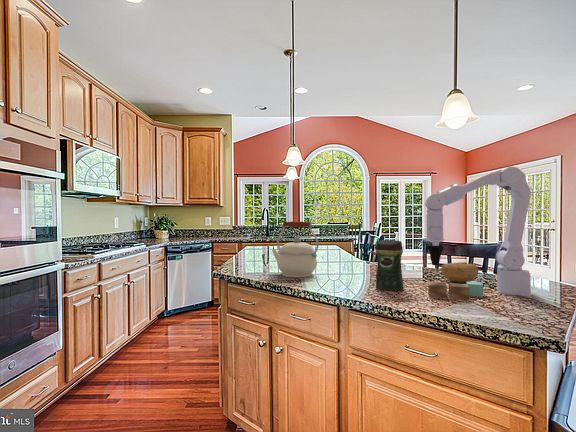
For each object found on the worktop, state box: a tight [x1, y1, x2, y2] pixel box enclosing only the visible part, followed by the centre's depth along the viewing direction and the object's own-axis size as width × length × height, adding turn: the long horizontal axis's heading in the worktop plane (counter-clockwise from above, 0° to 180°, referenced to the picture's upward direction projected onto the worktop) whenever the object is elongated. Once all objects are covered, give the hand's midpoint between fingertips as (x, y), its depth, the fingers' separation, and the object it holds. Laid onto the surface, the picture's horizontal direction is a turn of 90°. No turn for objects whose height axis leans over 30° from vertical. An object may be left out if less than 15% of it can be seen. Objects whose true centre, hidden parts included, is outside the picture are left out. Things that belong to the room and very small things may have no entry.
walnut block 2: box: [448, 282, 470, 301], centre depth 114 cm, size 6×6×4 cm
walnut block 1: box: [427, 281, 448, 299], centre depth 116 cm, size 6×6×4 cm
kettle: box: [271, 220, 320, 279], centre depth 161 cm, size 25×18×25 cm
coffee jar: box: [375, 239, 404, 292], centre depth 128 cm, size 10×8×19 cm
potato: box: [440, 262, 479, 284], centre depth 143 cm, size 10×14×8 cm
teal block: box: [465, 281, 484, 298], centre depth 118 cm, size 4×4×4 cm
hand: (435, 263), depth 127 cm, fingers open, 7 cm apart
